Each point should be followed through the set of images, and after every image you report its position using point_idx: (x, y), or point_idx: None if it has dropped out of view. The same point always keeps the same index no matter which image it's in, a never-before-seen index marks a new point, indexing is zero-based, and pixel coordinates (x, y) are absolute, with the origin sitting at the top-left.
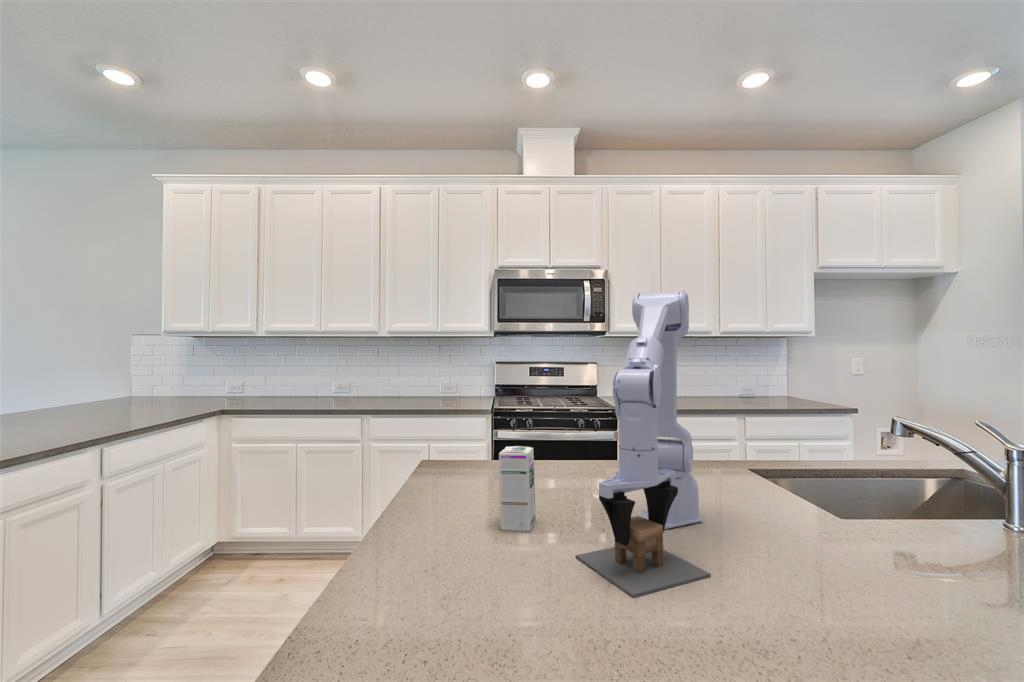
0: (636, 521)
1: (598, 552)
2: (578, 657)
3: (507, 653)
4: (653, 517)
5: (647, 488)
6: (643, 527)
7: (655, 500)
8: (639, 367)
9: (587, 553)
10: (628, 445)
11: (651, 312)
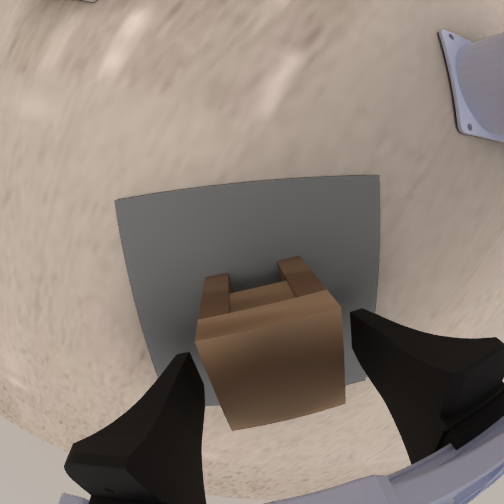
0: (289, 361)
1: (188, 203)
2: (69, 444)
3: (9, 408)
4: (373, 349)
5: (438, 400)
6: (271, 410)
7: (407, 400)
8: None
9: (152, 198)
10: None
11: None
